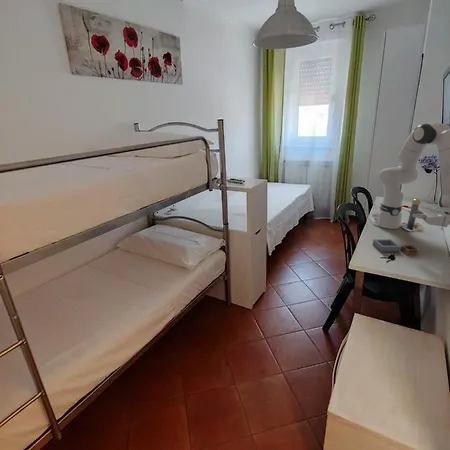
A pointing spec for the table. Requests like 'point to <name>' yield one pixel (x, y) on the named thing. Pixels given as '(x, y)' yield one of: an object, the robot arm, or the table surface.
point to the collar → (409, 250)
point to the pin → (413, 210)
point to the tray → (386, 246)
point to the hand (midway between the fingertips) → (411, 213)
